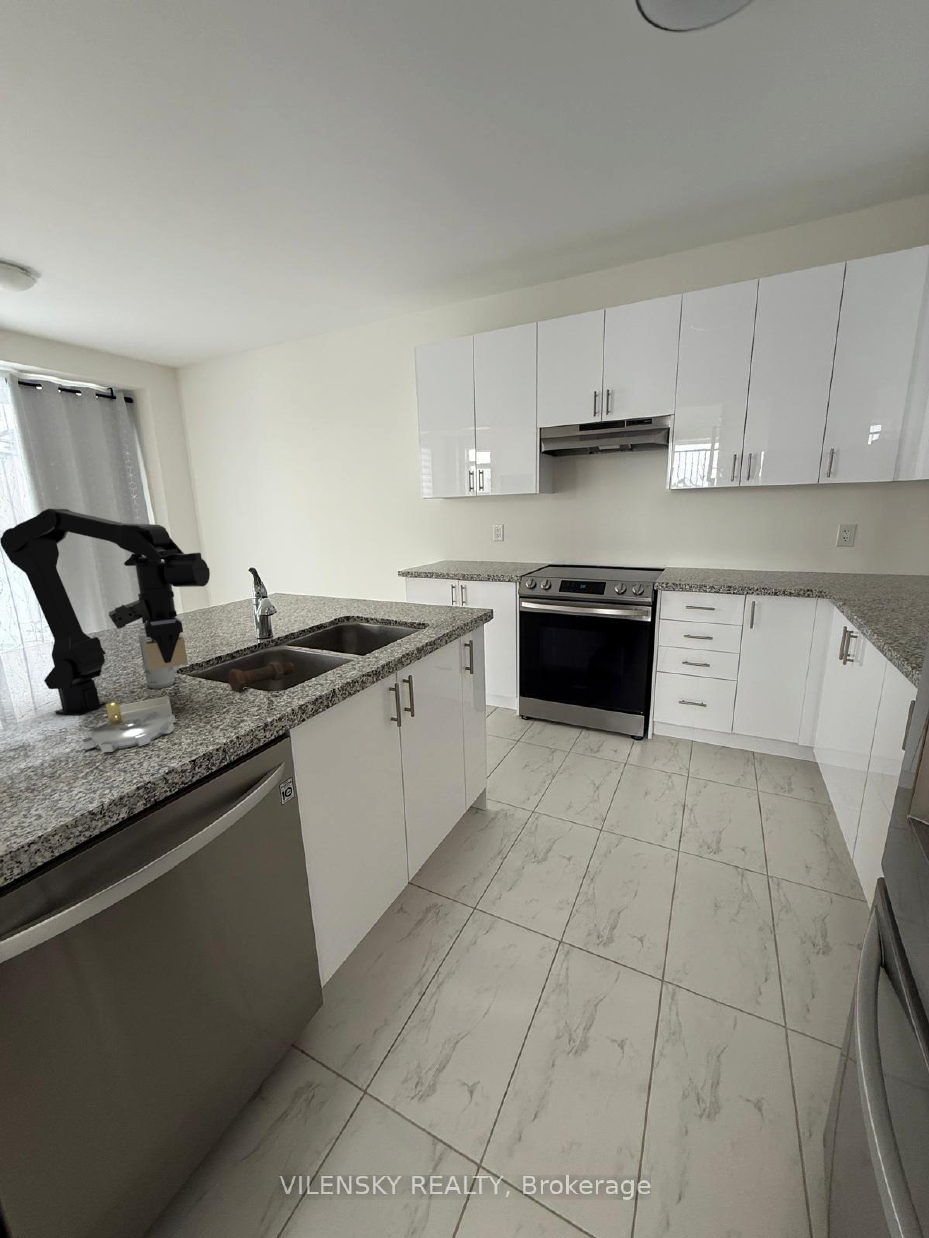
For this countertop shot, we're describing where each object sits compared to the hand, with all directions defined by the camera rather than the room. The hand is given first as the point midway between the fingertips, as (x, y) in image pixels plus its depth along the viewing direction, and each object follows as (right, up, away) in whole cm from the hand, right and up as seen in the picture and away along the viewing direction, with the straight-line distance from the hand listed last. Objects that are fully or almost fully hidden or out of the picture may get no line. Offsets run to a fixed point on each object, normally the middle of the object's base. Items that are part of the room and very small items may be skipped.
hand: (166, 660), depth 105 cm
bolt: (+14, -7, +17) cm, 23 cm away
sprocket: (0, -13, -11) cm, 17 cm away
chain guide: (-4, -11, -1) cm, 12 cm away
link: (0, -1, 0) cm, 1 cm away
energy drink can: (-12, -8, +18) cm, 23 cm away
